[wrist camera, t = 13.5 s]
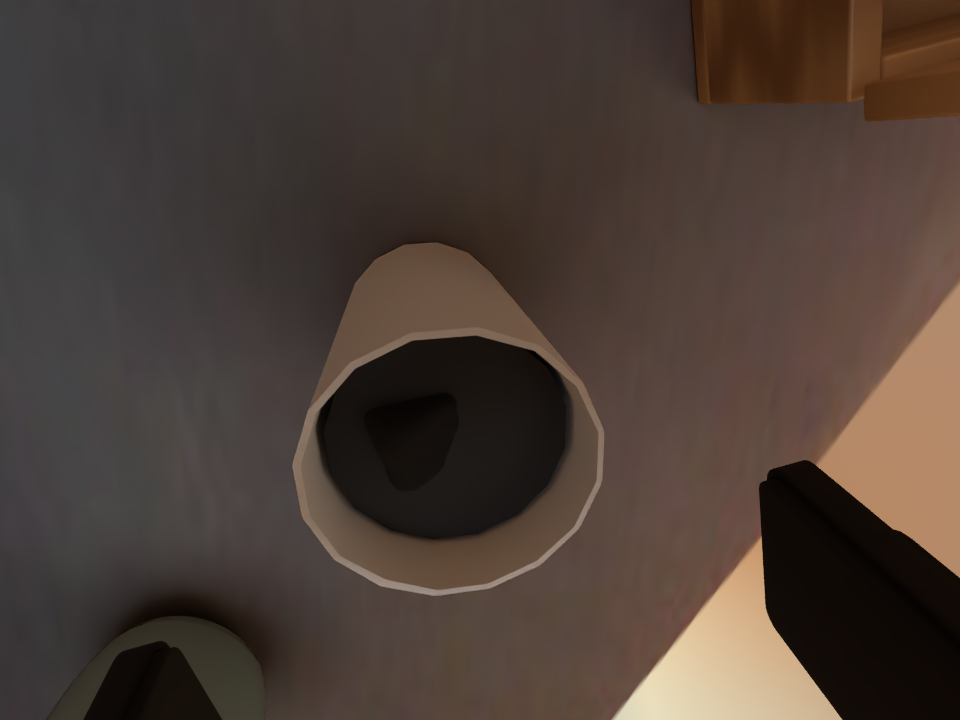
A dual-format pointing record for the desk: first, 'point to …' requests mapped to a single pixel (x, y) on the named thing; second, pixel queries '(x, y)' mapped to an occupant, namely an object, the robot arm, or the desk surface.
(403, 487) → the white tumbler
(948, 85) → the lid
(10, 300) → the desk surface
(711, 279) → the desk surface
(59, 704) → the cup
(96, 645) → the desk surface
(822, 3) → the box
